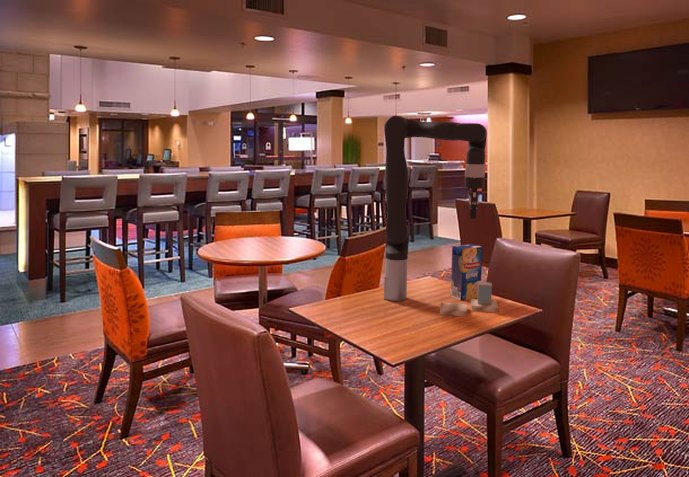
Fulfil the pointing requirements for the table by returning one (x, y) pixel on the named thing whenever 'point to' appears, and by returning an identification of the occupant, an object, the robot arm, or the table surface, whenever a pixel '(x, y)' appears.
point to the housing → (484, 293)
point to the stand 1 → (453, 309)
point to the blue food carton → (466, 271)
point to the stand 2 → (484, 306)
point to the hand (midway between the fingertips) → (472, 217)
